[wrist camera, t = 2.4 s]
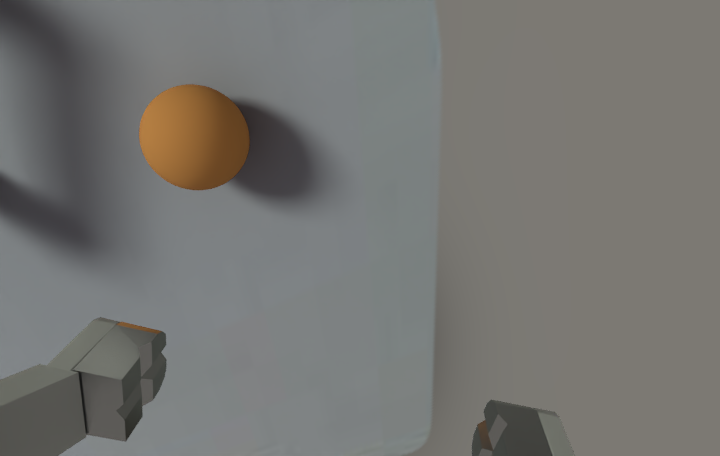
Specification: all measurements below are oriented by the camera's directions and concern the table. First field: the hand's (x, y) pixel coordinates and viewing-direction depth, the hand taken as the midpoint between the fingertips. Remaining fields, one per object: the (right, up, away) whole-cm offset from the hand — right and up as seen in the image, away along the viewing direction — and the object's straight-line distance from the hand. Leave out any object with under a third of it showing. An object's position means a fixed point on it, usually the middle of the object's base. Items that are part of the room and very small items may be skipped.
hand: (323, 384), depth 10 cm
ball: (-8, +8, +13) cm, 18 cm away
